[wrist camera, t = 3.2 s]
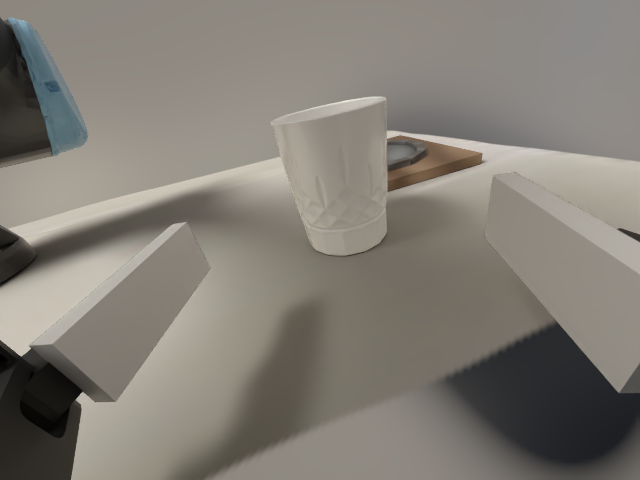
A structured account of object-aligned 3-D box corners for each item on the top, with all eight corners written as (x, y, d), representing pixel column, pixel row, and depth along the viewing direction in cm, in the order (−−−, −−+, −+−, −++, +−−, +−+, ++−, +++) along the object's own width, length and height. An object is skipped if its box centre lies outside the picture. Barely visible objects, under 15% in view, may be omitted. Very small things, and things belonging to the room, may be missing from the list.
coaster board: (335, 206, 28) (332, 189, 27) (302, 169, 44) (299, 157, 43) (481, 163, 30) (483, 146, 29) (400, 142, 46) (400, 130, 45)
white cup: (285, 244, 23) (248, 126, 18) (342, 208, 28) (324, 103, 23) (354, 274, 18) (328, 118, 13) (412, 223, 22) (409, 90, 17)
